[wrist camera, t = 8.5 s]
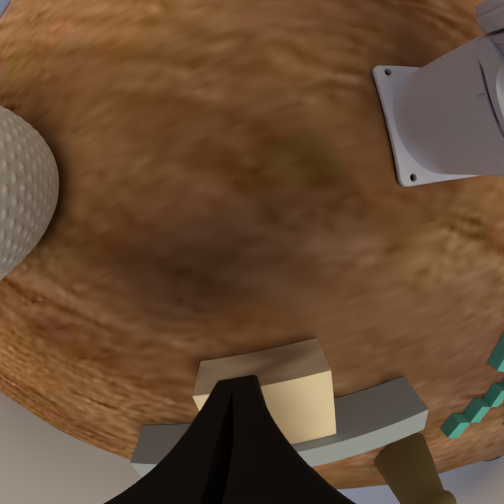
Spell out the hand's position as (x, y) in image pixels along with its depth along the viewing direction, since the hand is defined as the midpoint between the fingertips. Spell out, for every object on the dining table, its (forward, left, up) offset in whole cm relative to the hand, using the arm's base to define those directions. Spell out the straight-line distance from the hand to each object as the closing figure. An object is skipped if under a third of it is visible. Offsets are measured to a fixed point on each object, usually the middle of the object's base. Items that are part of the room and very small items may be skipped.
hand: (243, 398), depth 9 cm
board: (0, +11, -9) cm, 14 cm away
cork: (-12, +22, -9) cm, 27 cm away
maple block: (0, +7, -9) cm, 11 cm away
